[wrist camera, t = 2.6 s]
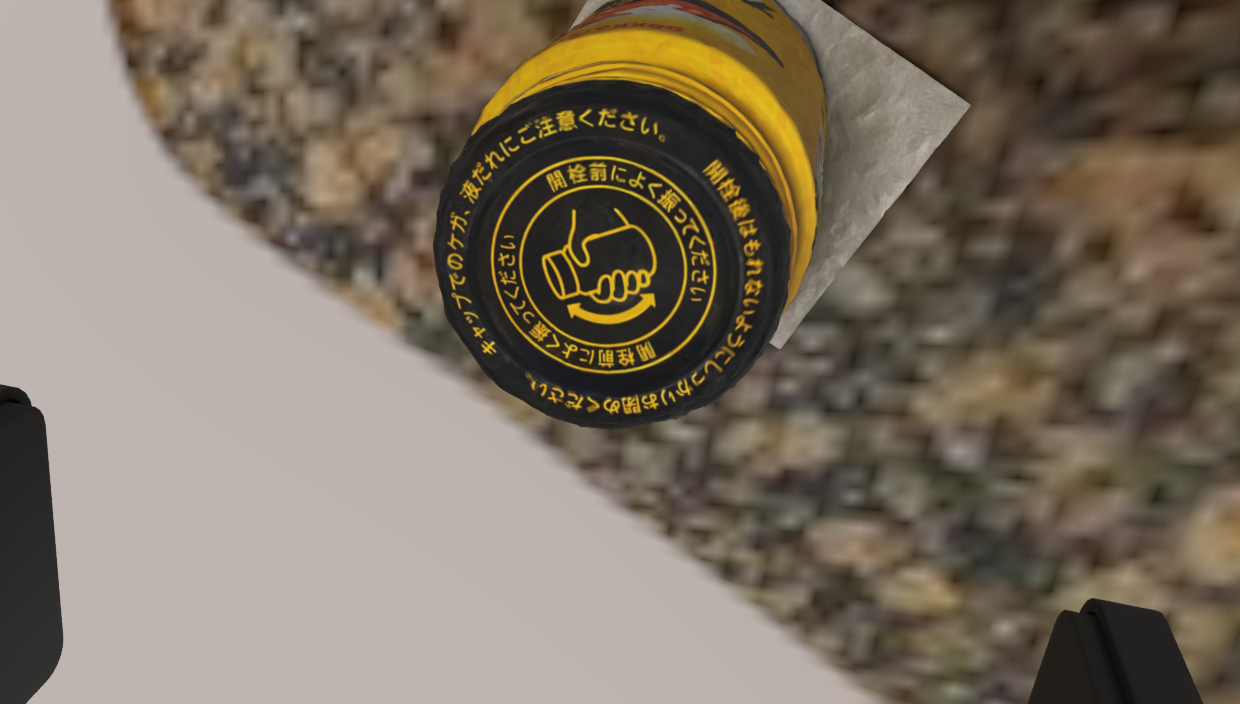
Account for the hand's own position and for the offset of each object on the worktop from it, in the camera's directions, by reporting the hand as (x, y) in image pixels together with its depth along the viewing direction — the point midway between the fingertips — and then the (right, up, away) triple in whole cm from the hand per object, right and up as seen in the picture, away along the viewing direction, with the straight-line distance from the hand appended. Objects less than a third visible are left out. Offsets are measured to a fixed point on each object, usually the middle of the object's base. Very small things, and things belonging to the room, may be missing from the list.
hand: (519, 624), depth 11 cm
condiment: (+3, +8, +17) cm, 19 cm away
